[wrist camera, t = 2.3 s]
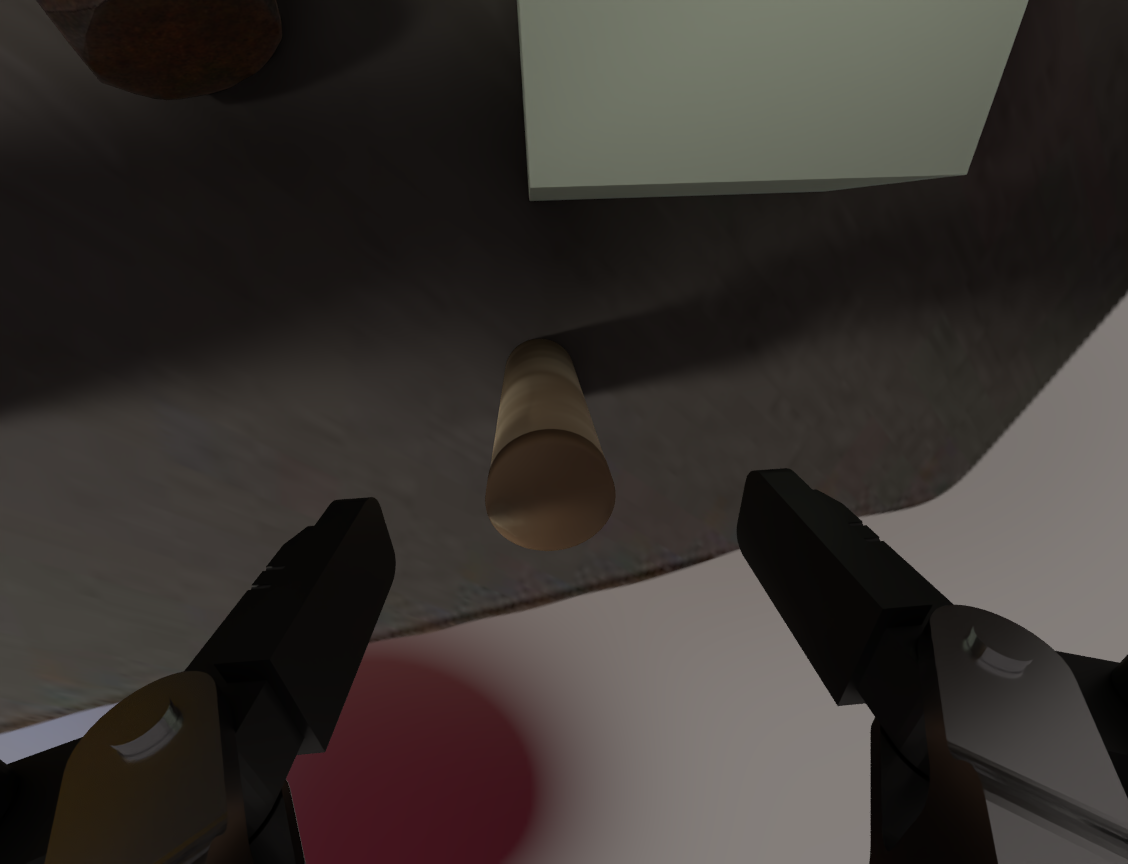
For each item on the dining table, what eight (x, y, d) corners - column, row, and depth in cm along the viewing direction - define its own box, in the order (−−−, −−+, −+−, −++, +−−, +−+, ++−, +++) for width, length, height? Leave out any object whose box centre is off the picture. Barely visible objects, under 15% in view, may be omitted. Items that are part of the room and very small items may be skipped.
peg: (508, 406, 20) (493, 555, 11) (501, 340, 18) (476, 448, 9) (574, 402, 20) (613, 545, 11) (573, 336, 18) (617, 439, 9)
